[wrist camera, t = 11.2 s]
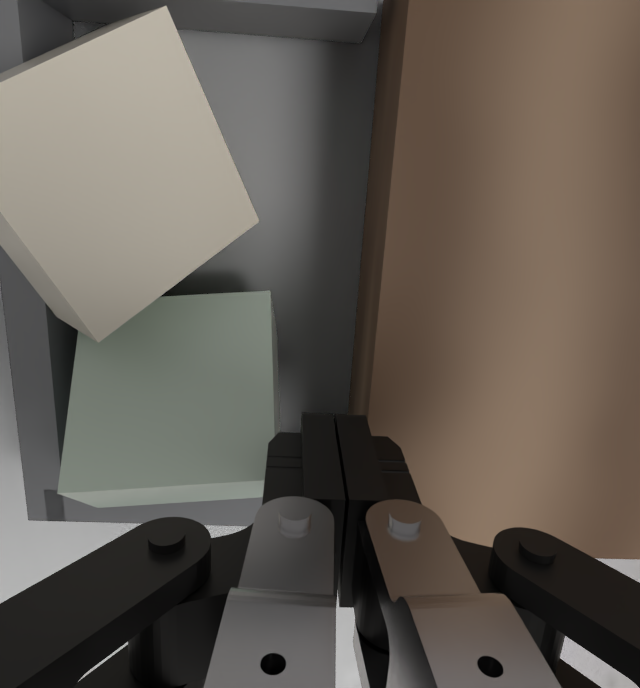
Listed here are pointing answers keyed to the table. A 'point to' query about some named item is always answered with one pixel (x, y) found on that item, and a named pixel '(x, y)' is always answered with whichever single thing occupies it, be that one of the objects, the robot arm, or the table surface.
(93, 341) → the sage tile
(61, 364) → the tray
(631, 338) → the walnut board
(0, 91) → the cream tile
